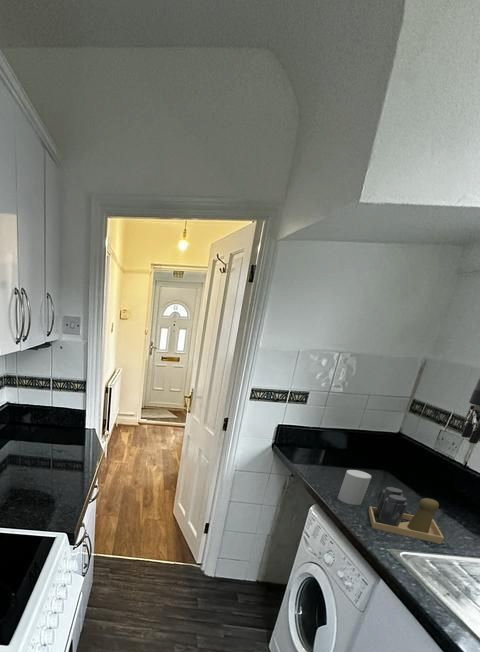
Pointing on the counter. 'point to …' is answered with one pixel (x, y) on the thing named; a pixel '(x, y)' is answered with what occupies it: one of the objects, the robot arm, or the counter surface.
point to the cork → (423, 515)
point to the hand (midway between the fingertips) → (468, 440)
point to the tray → (402, 529)
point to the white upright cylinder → (354, 487)
